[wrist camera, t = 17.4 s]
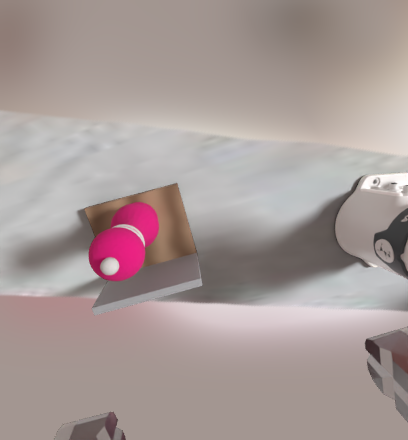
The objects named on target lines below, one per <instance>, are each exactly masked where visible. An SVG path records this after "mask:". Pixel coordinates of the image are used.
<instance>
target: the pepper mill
mask: <svg viewBox="0 0 408 440" xmlns="http://www.w3.org/2000/svg"><path fill="white" fill-rule="evenodd" d="M158 231H159V222H158V216H157V213H156V211H155V210H154V209H153V208H152V207H151V206H150V205H148V204H146V203H143V202H135V203H132V204H128V205H125V206H123V207H121V208H120V209H119V210H118V211H117V212H116V213H115V215H114V216H113V218H112V221H111V228H110V229H107V230H104V231H103V232H101V233H100V234H98V235H97V236H96V238H95V239H94V240H93V242H92V243H91V246H90V248H89V262H90V265H91V267H92V269H93V270H94V272H95V273H96V274H97V275H99V276H100V277H102V278H103V279H106V280H109V281H123V280H126V279H128V278H130V277H132V276H133V275H135V274H136V273H137V272H138V271H139V270H140V268H141V267H142V265H143V263H144V259H145V248H146V247H148V246H149V245H150V244H152V243H153V241H154V240H155V238H156V237H157V235H158Z"/></svg>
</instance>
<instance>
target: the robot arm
mask: <svg viewBox="0 0 408 440" xmlns="http://www.w3.org/2000/svg"><path fill="white" fill-rule="evenodd" d="M373 180H374V183H373ZM335 233H336V238H337V241H338V243H339V245H340V246H341V247H342V249H343V250H344V251H346V252H347V253H349V254H350V255H353V256H356V257H359V258H361V259H363V260H364V261H365V263H367V264H368V265H369V266H372V267H374V268H376V267H381V268H384V269H386V270H388V271H391V272H393V273H396V274H398V275H401V276H404V278H406V279H408V172H403V173H388V174H374V175H365V176H363V177H362V178H361V180H360V181H359V183H358V185H357V188H356V190H355V191H354V193H353V194H352V195H351V196H350V197H349V198H348V199H347V200H346V201H345V202H344V204H343V205H342V207H341V209H340V210H339V213H338V215H337V218H336V223H335ZM365 348H366V350H367V351H368V352H369V353H370V356H369V358H368V359H367V365H368V370H369V373H370V375H371V377H372V379H373V381H374V382H375V384H376V385H377V387H378V388H379V389H380V391H381V392H382V393H383V394H384V395H386V396H388V397H390V398H392V399H394V400H395V405H396V409H397V410H398V412H399V413H400V414H401V415H402V416H403V418H404V419H405V420H406V421H407V422H408V327H405V328H402V329H398V330H394V331H391V332H388V333H384V334H381V335H378V336H374V337H371V338H368V339H366V341H365ZM117 421H118V419H117V418H116V415H115V414H114V412H109V413H105V414H101V415H97V416H93V417H89V418H85V419H81V420H79V421H74V422H71V423H67V424H63V425H62V426H61V427H60V429H59V430H58V431H57V434H56V436H55V438H54V440H126V438H125V435H124V433H123V430H121V429H119V428H117V427H116V425H117Z"/></svg>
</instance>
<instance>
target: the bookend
mask: <svg viewBox="0 0 408 440" xmlns="http://www.w3.org/2000/svg"><path fill="white" fill-rule="evenodd" d="M135 202H143V203H146V204H148V205H150V206H151V207H152V208H153V209H154V210H155V211H156V213H157V216H158V222H159V231H158V235H157V237H156V238H155V240H154V241H153V243H152V244H150V245H149V246H148V247H146V248H145V259H144V263H143V265H142V267H141V268H140V270H139V271H138V272H137V273H136V274H135V275H133V276H132V277H130V278H128V279H126V280H123V281H109V280H108V281H107V283H106V285H105V287H104V288H103V290H102V292H101V293H100V295H99V297H98V298H97V300H96V302H95V304H94V306H93V307H92V310H93V312H94V315H98V314H102V313H105V312H109V311H113V310H116V309H120V308H123V307H127V306H131V305H134V304H138V303H142V302H145V301H149V300H153V299H156V298H160V297H163V296H167V295H171V294H174V293H178V292H182V291H185V290H189V289H192V288H196V287H200V286H202V280H201V273H200V267H199V261H198V255H197V251H196V248H195V244H194V241H193V237H192V234H191V230H190V227H189V223H188V219H187V216H186V212H185V209H184V205H183V202H182V198H181V195H180V191H179V188H178V184H177V183H175V184H172V185H168V186H164V187H161V188H157V189H153V190H149V191H146V192H142V193H138V194H134V195H131V196H127V197H123V198H119V199H116V200H112V201H108V202H104V203H101V204H97V205H93V206H89V207H87V208H85V212H86V215H87V217H88V220H89V222H90V225H91V227H92V230H93V233H94V235H95V238H96V236H97V235H98V234H100V233H101V232H103V231H104V230H107V229H110V228H111V221H112V218H113V216H114V215H115V213H116V212H117V211H118V210H119V209H120V208H121V207H123V206H125V205H128V204H132V203H135Z"/></svg>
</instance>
